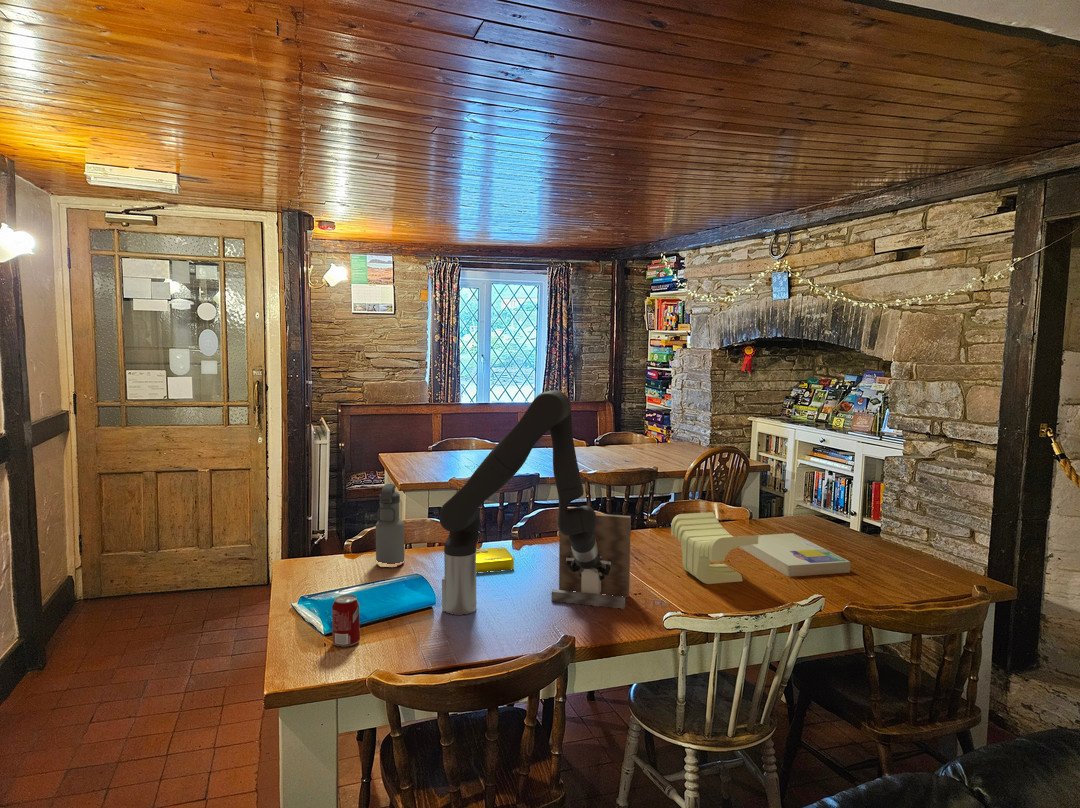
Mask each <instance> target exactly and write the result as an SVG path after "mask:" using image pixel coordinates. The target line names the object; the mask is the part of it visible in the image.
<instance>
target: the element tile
mask: <svg viewBox="0 0 1080 808" xmlns="http://www.w3.org/2000/svg"><path fill="white" fill-rule="evenodd" d="M514 563H515V558H514V556H513V555H512V554H511V552H510V551H509V550H508V549H507V548H506V547H504V546H503V547H502V546H500V547H489V548H487V547H486V548H476V572H487V571H488V572H490V571H501V570H511V569H513V570H514V569H515V564H514ZM511 571H512V570H511Z"/></svg>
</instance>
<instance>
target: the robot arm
mask: <svg viewBox="0 0 1080 808" xmlns="http://www.w3.org/2000/svg"><path fill="white" fill-rule="evenodd" d="M548 431H549V432H550V438H551V443H552V469H553V470H552V471H553V477H554V480H555V481H554V482H555V487H556V491H557V497H558V513H557V527H558V530H560V531H561V533H562V534H564V535H566V536H569V540H570V543H571V549H572V553H573V556H574V558H572V557H571V556H567V559H566V565H567V566H568V567H569V568H570V570H571V571H572V572H576V571H577V572H578V573H579V576H580V577H581V575H582V572H583V571H584V569H591V570H593V571H594V572H595V573H598V574H599V578H600V580H601V581H602V579H604V577H605V575H609V571H610V567H611V560H610V559H608V560H607V561H603V560H602V558H600V554H599V550H598V546H597V542H596V540H595V537H594V531H595V528H596V521H597V520H596V514H597V513H596V512H595V510H594V509H593V507H591V506H589V505H581V506H577V507H571V508H568V507H569V505H570V503H572V502H574V501H576V500H578V499H580V498H582V496H584V493H585V491H584V487H583V481H582V478H581V477H582V476H581V473H580V468H579V465H578V458H577V454H576V450H575V449H576V448H575V447H576V446H575V439H574V433H573V418H572V405H571V401H570V398H569V397H568V395H567V394H565V392H564V391H561V390H557V389H552V390H548V391H547V390H546V391H544V392H542V393H539V394H538V395H536V397H535V398H534V399H533V401H532V402H531V404H529V406H528V408H527V409H526V411H525V412H524V414H523V415H522V417H521V418H520V419H519V421H517V424H516V425H515V426H513V428H512V429H511V430H510V431H509V432H507V434H506V435H505V436H504V437H502V438H501V440H500V441H499V442H498V443H497V444H496V445H495V447H494V448H492V450H491V451H490V452H489V454H487V456H486V457H484V459H483V460H482V462H481V463H480V464H479V465H478V467H477V468H476V469H475V470H474V472H473V474H471V476H470V477H469V479H468V480H467V481H466V482H465V484H464V485H463V486H462V487H461V488H460V489H459V490H457V492H455V494H454V495H453V496H452V497H451V498H449V499H448V500H447V501H446V502H445V503H444V504H443V505H442V506H441V508H440V511H439V516H438V517H439V519H438V520H439V523H440V525H441V527H442V528H443V529H444V530H445V531H448V532H449V533H448V536H447V538H446V540H445V542H444V546H443V547H444V548H443V550H444V551H443V553H444V554H443V555H444V557H443V558H444V562H443V563H444V576H443V578H442V579H441V612H445V611H446V612H445V613H447V614H449V613H450V614H449V615H453V614H454V615H455V616H464V615H463V614H465V615H469V613H470V614H472V613H474V612H476V610H477V574H476V549H477V545H478V542H479V536H480V533H479V532H480V509H479V508H480V507H481V505H483V503H485V502H486V501H487V500H488V499H489V498H490V497H492V496H493V495H494V494H496V493H497V492H498V491H499V490H500V489H502V488H503V487H504V486H505V485H506V484H507V483H508V482H510V480H511V479H512V478H514V476H515V475H516V474H517V473H518V472H519V470H520V469H521V468H522V467H523V466H524V464H525V463H526V461H527V459H528V457H529V456H530V453H531V452H532V449H533V448H534V446H535V445H536V444H537V442H538V441H539V440H540V439H541V438H542V437H543V436H544V435H545V434H547V432H548ZM602 565H604V567H605V568H604V567H603V566H602Z"/></svg>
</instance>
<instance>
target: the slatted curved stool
mask: <svg viewBox="0 0 1080 808" xmlns="http://www.w3.org/2000/svg"><path fill="white" fill-rule="evenodd" d="M754 535H755V534H754ZM754 535H741V536H740V537H738V536H733V535H732V534H730V533H729V532H728V531H727V530H726V529H725V528H724V527H723V526H722V524H721V523H720V521H719V520H718V518H716V516H715V514H714V512H713V511H711V512H710V511H708V512H694V513H693V512H692V513H680V514H676V515H675V516H674V517H673V519H672V521H671V526H670V536H674V537H675V538H677V540H678V542H679V544H681V545H680V547H681V557H682V558H681V559H682V567H683V569H684V570H685V571H687V572H688V573H689V574H691V575H692V576H693V577H694V578H696V579H698V581H700V582H702V583H703V584H707V585H712V584H724V583H725V584H726V583H733V582H734V583H735V582H736V583H737V582H743V577H742V574H741V573H739V571H736V570H735V569H733V568H731V567H730V566H728V565H727V564H725V563H721V564H719V563H718V564H717V562H725V559H726V556H727V554H729V552H730V551H732V550H734V549H736V548H740V546H745V545H753V544H758V535H759V534H758V535H757V534H756V535H755V536H754ZM715 562H716V563H715ZM711 563H715V564H711Z"/></svg>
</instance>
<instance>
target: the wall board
mask: <svg viewBox="0 0 1080 808" xmlns="http://www.w3.org/2000/svg"><path fill="white" fill-rule="evenodd" d="M595 514H596V520H597V521H596V528H595V531H594V537H595V540H596V542H597V546H598V550H599V554H600V556H602V560H603V561H607V560H608V559H610V560H611V567H610V571H609V575H605V577H604V579H602V581H601V592H600V594H593V593H583V592H581V577H580V576H579V573H578V572H577V571H576V572H572V571H571V570H570V568H569V567H568V566H567V565H566V559H567V556H571V557H572V558H574V556H573V553H572V549H571V543H570V540H569V536H566V535H564V534H562V533H561V531H560V530H559V529H558V530H559V533H558V534H559V536H558V539H559V547H558V548H559V550H558V551H559V554H558V555H559V556H558V557H559V559H558V566H559V567H558V589H552V590H551V602H553V601H556V602H555V603H562V602H566V603H565V604H571V603H576V604H575V605H580V604H585V605H584V606H590V605H595V606H594V607H599V606H604V607H603V608H608V607H613V608H612V609H617V608H621V609H620V610H625V608H626V598H628V597H630V592H631V591H630V589H631V585H630V583H631V581H630V580H631V536H632V532H631V531H632V529H631V528H632V527H631V526H632V525H631V524H632V521H631V520H632V518H631V517H632V516H631V515H624V514H623V515H621V514H606V513H595ZM602 566H603V567H604V565H602ZM604 568H605V567H604ZM573 591H576V592H573ZM602 594H606V595H602ZM612 595H613V596H612ZM622 596H623V597H622Z"/></svg>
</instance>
